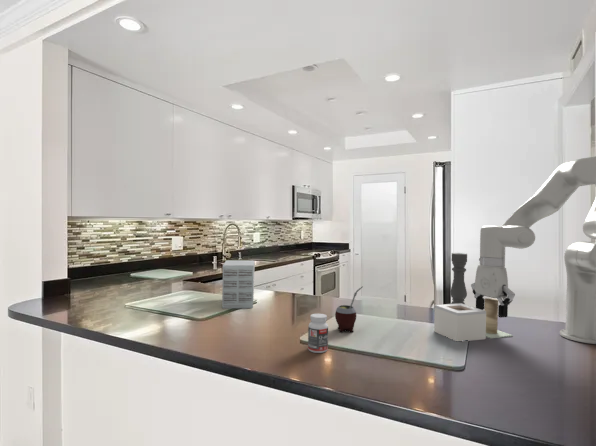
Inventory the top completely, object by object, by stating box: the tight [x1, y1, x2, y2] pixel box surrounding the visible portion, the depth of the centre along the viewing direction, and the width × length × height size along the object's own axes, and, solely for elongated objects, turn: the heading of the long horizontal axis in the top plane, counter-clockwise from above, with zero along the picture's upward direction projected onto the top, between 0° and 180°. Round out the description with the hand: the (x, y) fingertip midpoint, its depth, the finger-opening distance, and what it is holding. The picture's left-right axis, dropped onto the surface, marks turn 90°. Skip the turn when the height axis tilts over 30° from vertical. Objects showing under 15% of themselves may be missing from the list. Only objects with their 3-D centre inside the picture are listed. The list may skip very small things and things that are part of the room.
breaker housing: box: [433, 303, 487, 342], centre depth 120 cm, size 11×11×9 cm
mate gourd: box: [334, 286, 364, 334], centre depth 124 cm, size 8×8×15 cm
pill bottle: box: [307, 313, 329, 354], centre depth 105 cm, size 6×6×10 cm
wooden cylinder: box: [484, 297, 499, 334], centre depth 123 cm, size 4×4×11 cm
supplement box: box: [221, 259, 255, 309], centre depth 160 cm, size 17×13×18 cm
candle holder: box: [449, 252, 468, 305], centre depth 143 cm, size 6×6×25 cm
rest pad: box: [486, 329, 513, 339], centre depth 123 cm, size 9×9×1 cm
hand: (491, 313), depth 123 cm, fingers open, 9 cm apart
